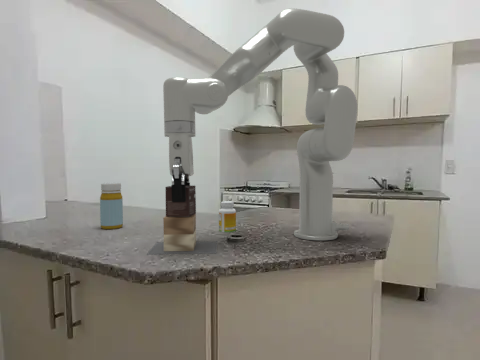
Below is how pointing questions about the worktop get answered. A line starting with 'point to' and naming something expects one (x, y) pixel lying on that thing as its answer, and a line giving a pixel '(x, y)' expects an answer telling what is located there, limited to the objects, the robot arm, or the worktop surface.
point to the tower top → (179, 225)
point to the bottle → (111, 206)
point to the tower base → (180, 242)
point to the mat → (200, 248)
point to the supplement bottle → (227, 217)
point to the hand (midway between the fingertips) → (181, 199)
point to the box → (181, 203)
